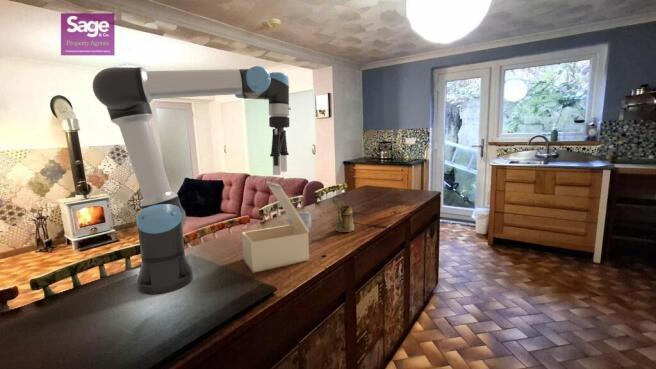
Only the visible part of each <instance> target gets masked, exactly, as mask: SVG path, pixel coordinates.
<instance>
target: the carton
mask: <svg viewBox="0 0 656 369" xmlns="http://www.w3.org/2000/svg"><path fill="white" fill-rule="evenodd" d="M309 241H310V240H309V233H308V232H306V231H304V230H302V229H301V228H299V227H297V226H296V225H294V224H292V225H289V224H285V225H280V226H274V227H268V228H262V229H255V230H249V231H243V232H241V243H242V244H241V245H242V256H243V261H244V262H245V264H246V265H247V266H248V268H249V269H250V270H251V272H252V273H253V274H254V273H258V272H262V271H267V270H273V269H276V268H280V267H286V266H290V265H295V264H298V263H299V264H300V263H304V262H308V261H310V248H309V247H310V246H309V243H310V242H309Z"/></svg>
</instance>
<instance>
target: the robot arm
mask: <svg viewBox="0 0 656 369" xmlns="http://www.w3.org/2000/svg"><path fill="white" fill-rule="evenodd" d="M92 91H93V94H94V96H95V97H96V99H97V101H99V102H100V103H101V104H103V105H104V106H105V107H106V110H107V113H108V115H109V118H110V122H111V123H114V124H115V125H116V126H118V127H119V130H120V133H121V137H122V139H123V142H124V144H125V145H124V146H125V148H126V151H127V154H128V157H129V160H130V163H131V166H132V169H133V171H134V175H135V178H136V181H137V183H138V187H139V189H140V192H141V195H142V201H141V202H140V204H139V206H140V210H139V211H138V213H137V214H136V222H135V223H136V226H137V234H138V242H139V249H140V256H141V257H140V259H141V265H140V269H139V272H138V276H137V282H136V283H137V284H136V285H137V290H138V292H140V293H142V294H144V295H145V294H146V295H147V294H148V295H156V294H164V293H169V292H172V291H176V290H178V288H179V289H182V288H183V287H185V286H186V285H189V284H190V283H191V282H192V281H193V279H194V272H193V268H192V266H191V264H190V262H189V260H188V257H187V256H186V252H185V243H184V227H185V224H186V221H187V220H186V219H187V215H186V211H185V209H184V207H183V206H182V204H181V202H180V198H179V195H178V194H177V193H176V192H173V191H172V189H171V186H170V183H169V179H168V175H167V173H166V170H165V167H164V163H163V161H162V160H163V159H162V157H161V153H160V151H159V148H158V147H159V146H158V144H157V141H156V138H155V134H154V131H153V128H152V125H151V123H150V121H151V119H152V117H153V112H152V111H153V110H152V107H151V105H150V103H152V101H153V100H158V99H176V98H195V97H196V98H198V97H212V96H214V97H215V96H228V95H229V96H230V95H235V96H234V97H235V98H237V99H244V100H246V99H248V100H249V99H250V100H264V101H266V100H268V116H269V117H268V122H269V123H268V124H269V126H268V127H270V128H272V130H271V131H272V137H271V138H272V139H271V140H272V141H271V151H270V152H271V153H269V156H270V157H272V175H273V176H282V173H283V172H284V173H285V172H287V173H288V160H287V159H288V156H290V154H289V152H288V144H287V131H286V130H285V129H284V128H289V127H290V111H291V107H290V93H289V92H290V82H289V76H288V75H287V73H284V72H282V71H281V72H280V71H276V72H275V71H272V72H269V70H267V69H266V68H265V67H264V66H260V65H255V66H252V67H250V68H241V69H240V68H239V69H238V68H233V69H193V70H192V69H191V70H190V69H189V70H188V69H187V70H184V69H183V70H146V69H145V68H144V67H140V66H139V67H131V66H129V67H126V66H125V67H122V66H121V67H120V66H119V67H116V66H115V67H114V66H113V67H107V68H103V69H102V70H100V71H99V72H97V74H96V75H95V76H94V78H93V80H92ZM288 116H289V117H288ZM191 280H192V281H191ZM190 281H191V282H190ZM189 282H190V283H189Z"/></svg>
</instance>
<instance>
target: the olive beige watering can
mask: <svg viewBox="0 0 656 369" xmlns="http://www.w3.org/2000/svg"><path fill="white" fill-rule="evenodd" d="M331 201H332V203H333V205H335V206H336V207H337V209H338V210H337V220H336V226H335V231H336V232H337V231H338V233H342V232H349V233H352V232H351V231H353V230H354V228H355V224H354V219H353V218H354V217H353V209H352V206H350V205H346V202H345V200H344V199H343V198H341V197H340V196H339V195H334V196H332V197H331ZM354 231H355V230H354ZM354 231H353V232H354Z"/></svg>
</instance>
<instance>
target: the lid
mask: <svg viewBox="0 0 656 369" xmlns="http://www.w3.org/2000/svg"><path fill="white" fill-rule="evenodd" d="M265 183H266V185H267V186H268V188H269V189H270V191H271V192H272V194H273V195H274V197H275V198H276V199H277V201H278V202H279V205H280V206H281V207H282V209H283V210H284V212H285V213H286V215H287V217H288V216H289V218H290V219H291V221H292V222H293V224H294V225H296V226H298V227H299V228H301V229H303V230H304V231H306V232H307V233H308V234H309V233H310V228H309V229H308V228H307V226H306V224H305V223H304V221H303V220H302V218H301V217H300V215H299V214H298V213H299V212H298V211H297V209H296V207H295V206H294V204H293V203H292V201H291V200H290V199H289V196H288V194H286V192H285V190H284V189H283V186H281V184H279V183H276V182H273V181H270V180H267V181H266V182H265Z"/></svg>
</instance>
